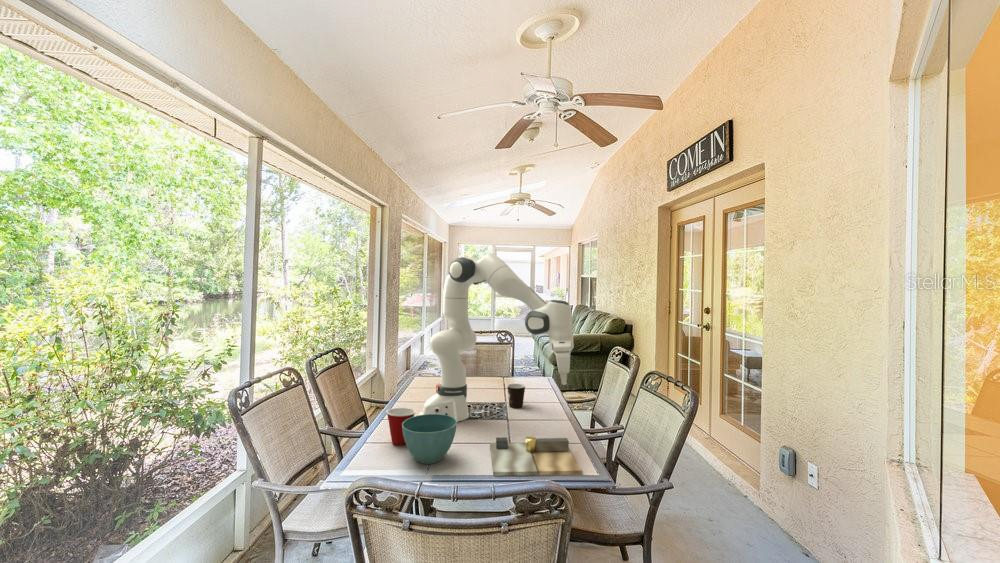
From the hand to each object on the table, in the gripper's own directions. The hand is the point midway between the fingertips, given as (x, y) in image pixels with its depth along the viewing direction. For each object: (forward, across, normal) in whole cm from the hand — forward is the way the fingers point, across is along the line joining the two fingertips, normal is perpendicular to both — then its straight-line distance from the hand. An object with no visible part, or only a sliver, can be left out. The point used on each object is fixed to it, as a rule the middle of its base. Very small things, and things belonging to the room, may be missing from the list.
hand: (563, 381), depth 147 cm
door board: (+23, +12, -12) cm, 29 cm away
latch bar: (+22, +7, -7) cm, 24 cm away
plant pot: (+22, +16, -47) cm, 54 cm away
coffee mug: (+21, -46, -22) cm, 55 cm away
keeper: (+21, +7, -23) cm, 32 cm away
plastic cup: (+20, +4, -61) cm, 65 cm away
